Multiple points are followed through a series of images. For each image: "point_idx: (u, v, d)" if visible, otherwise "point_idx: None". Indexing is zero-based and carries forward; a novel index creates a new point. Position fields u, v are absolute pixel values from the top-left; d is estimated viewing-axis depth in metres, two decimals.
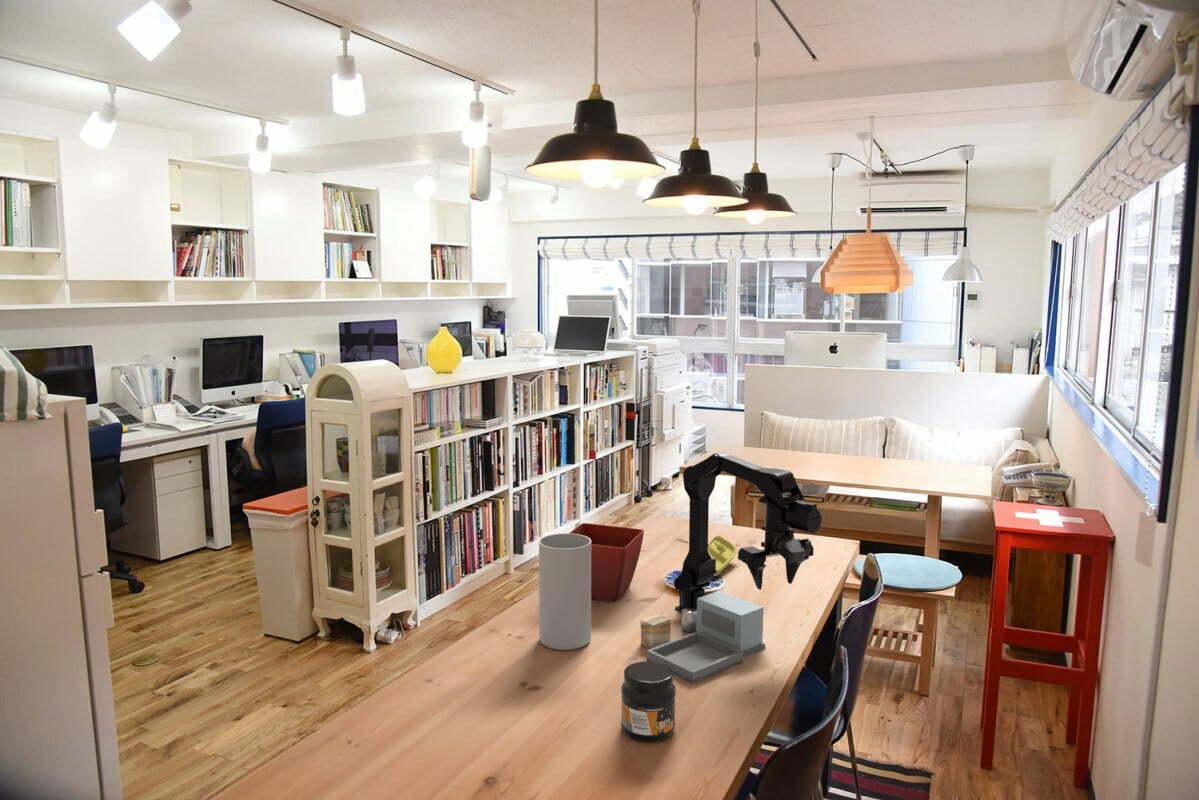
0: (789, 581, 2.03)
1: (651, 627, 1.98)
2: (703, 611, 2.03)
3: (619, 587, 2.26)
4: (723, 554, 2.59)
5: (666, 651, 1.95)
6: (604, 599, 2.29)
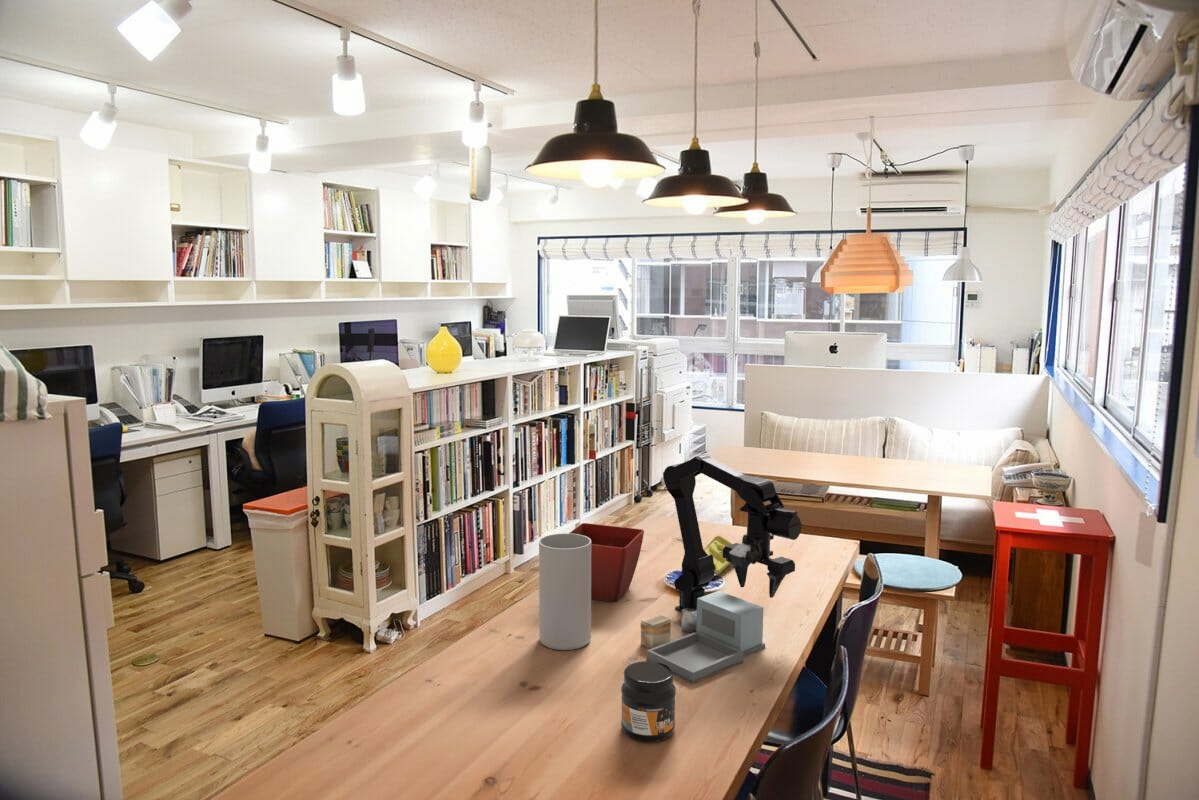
0: None
1: (651, 627, 1.98)
2: (703, 611, 2.03)
3: (619, 587, 2.26)
4: None
5: (666, 651, 1.95)
6: (604, 599, 2.29)
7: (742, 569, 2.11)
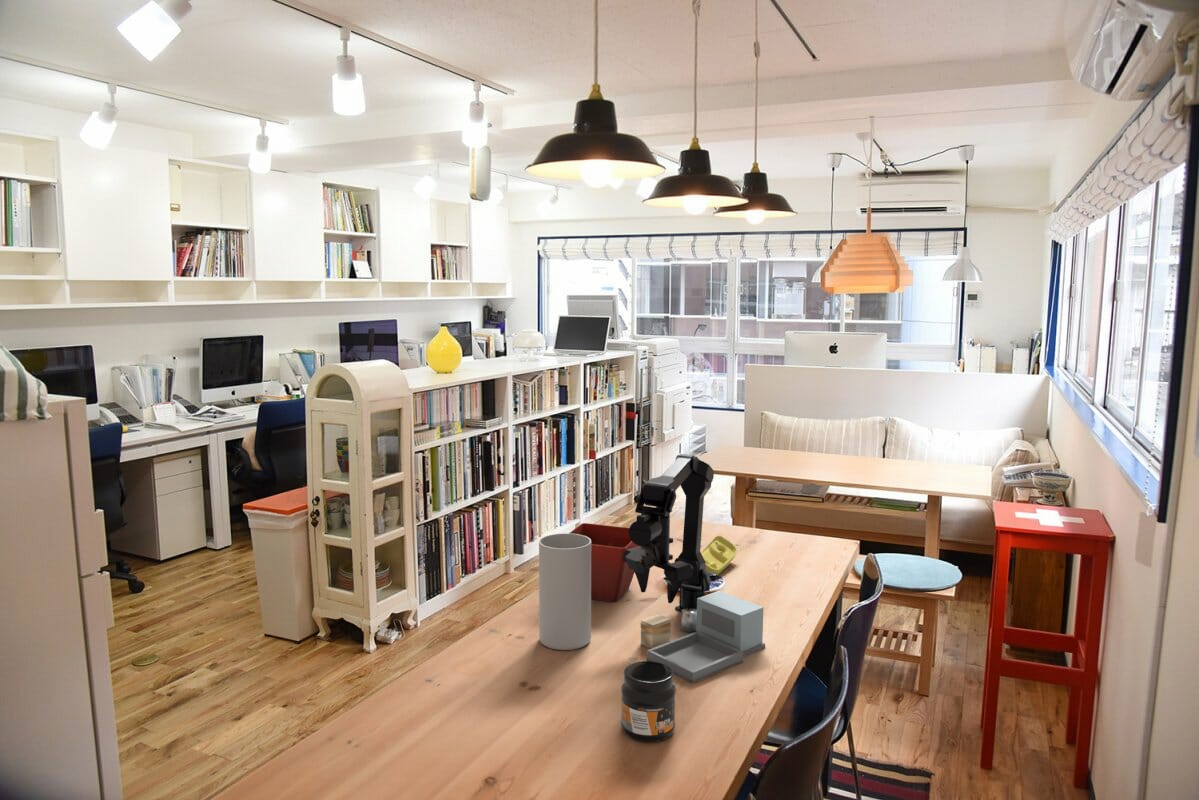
0: None
1: (651, 627, 1.98)
2: (703, 611, 2.03)
3: (619, 587, 2.26)
4: (723, 554, 2.59)
5: (666, 651, 1.95)
6: (604, 599, 2.29)
7: (643, 573, 2.04)
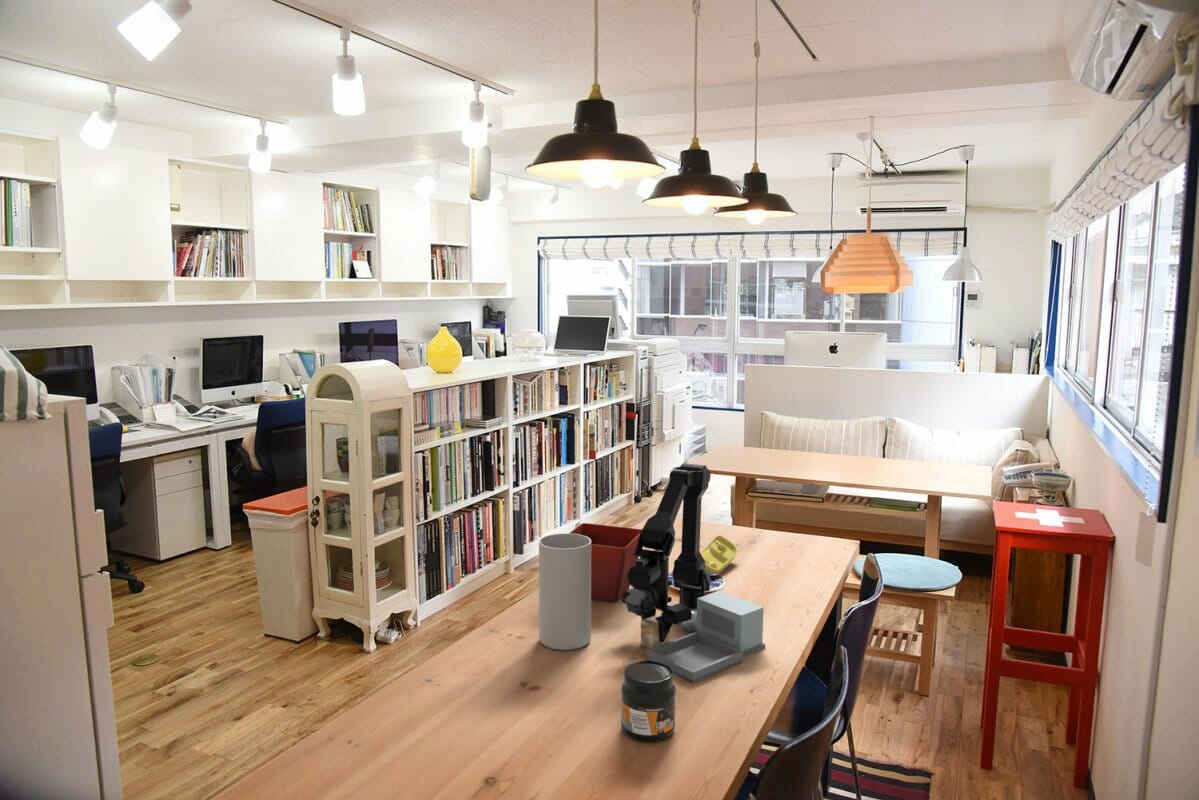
0: None
1: (651, 627, 1.98)
2: (703, 611, 2.03)
3: (619, 587, 2.26)
4: (724, 554, 2.59)
5: (666, 651, 1.95)
6: (604, 599, 2.29)
7: None
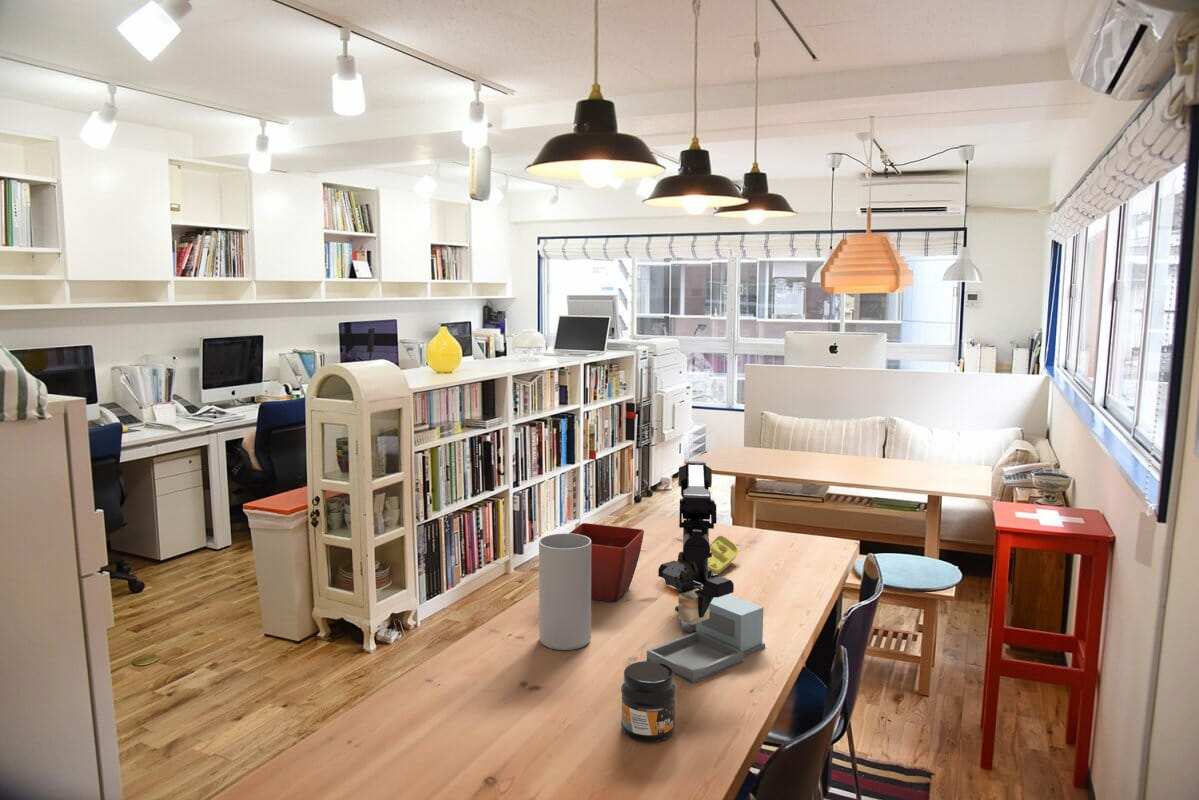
0: None
1: (690, 601, 1.87)
2: None
3: (619, 587, 2.26)
4: (724, 554, 2.59)
5: (666, 651, 1.95)
6: (604, 599, 2.29)
7: None
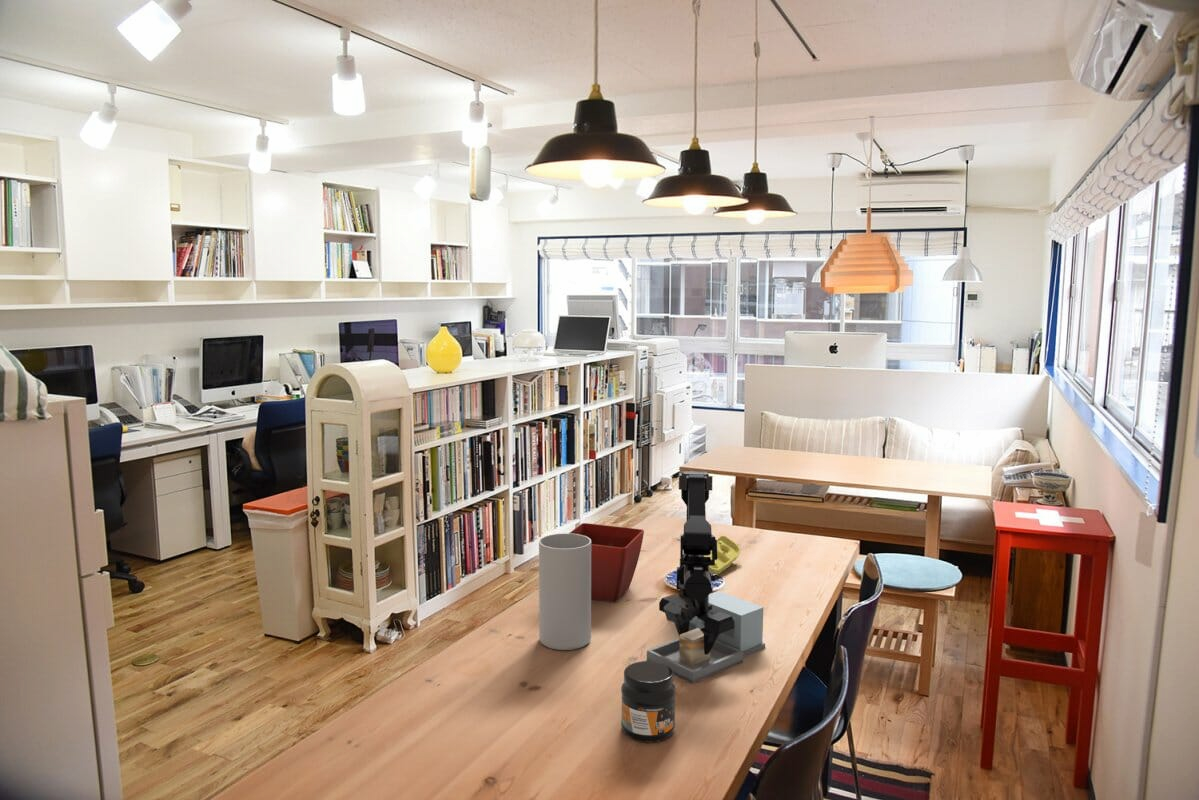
0: None
1: (691, 642, 1.88)
2: None
3: (619, 587, 2.26)
4: (726, 554, 2.59)
5: (666, 651, 1.95)
6: (604, 599, 2.29)
7: (683, 624, 1.94)
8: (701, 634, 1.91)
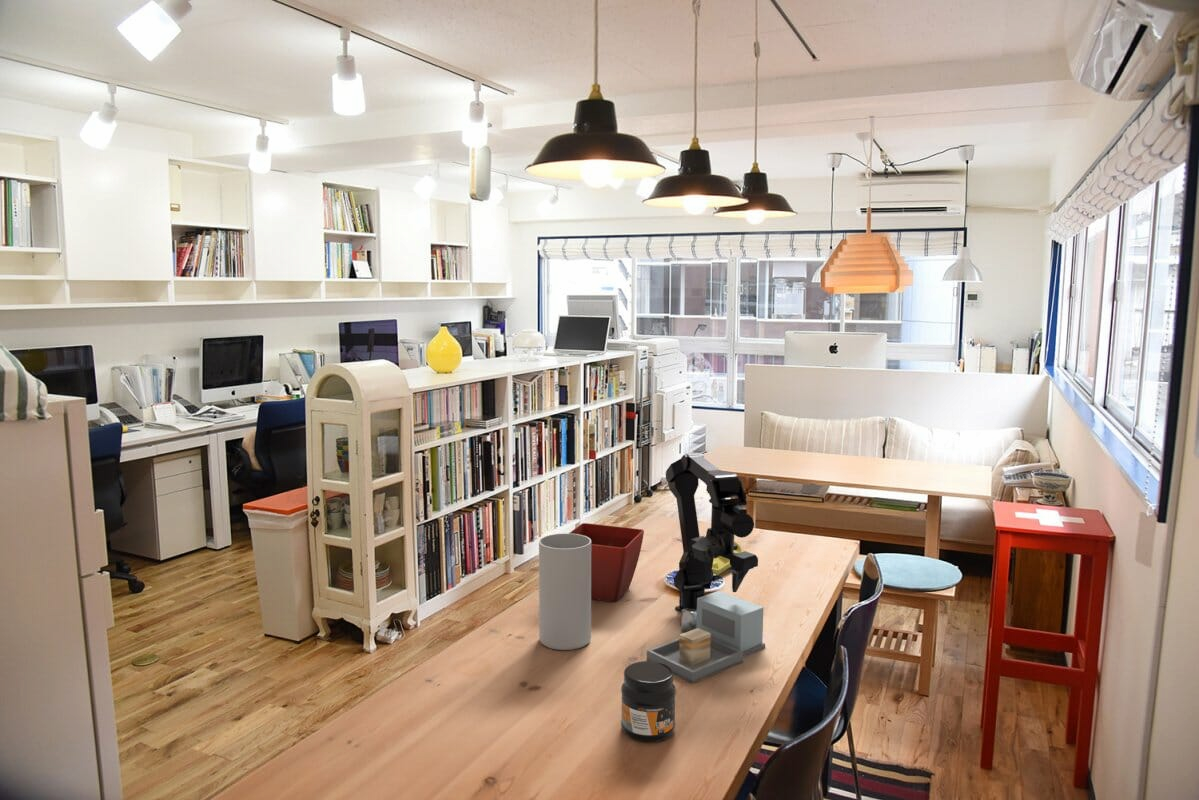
0: None
1: (691, 642, 1.88)
2: (703, 611, 2.03)
3: (619, 587, 2.26)
4: None
5: (666, 651, 1.95)
6: (604, 599, 2.29)
7: (707, 563, 2.09)
8: (701, 634, 1.91)
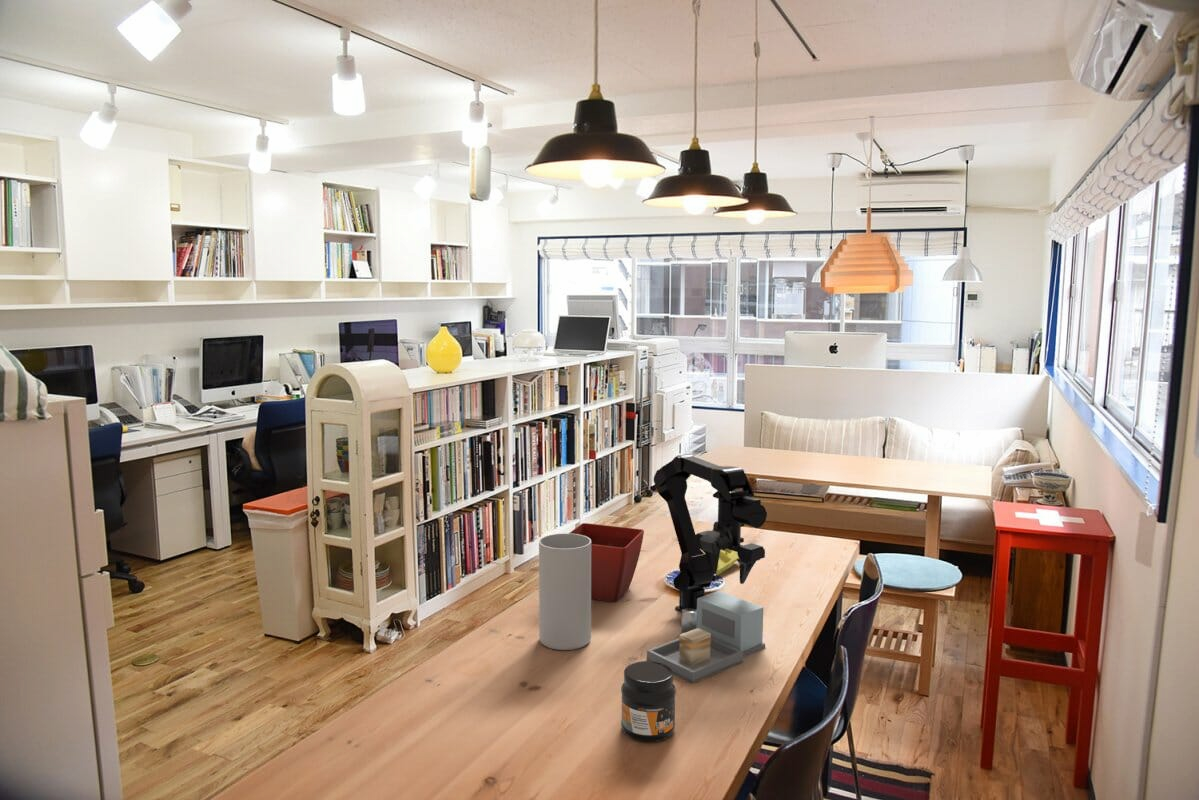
0: None
1: (691, 642, 1.88)
2: (703, 611, 2.03)
3: (619, 587, 2.26)
4: (728, 555, 2.58)
5: (666, 651, 1.95)
6: (604, 599, 2.29)
7: (714, 556, 2.13)
8: (701, 634, 1.91)
